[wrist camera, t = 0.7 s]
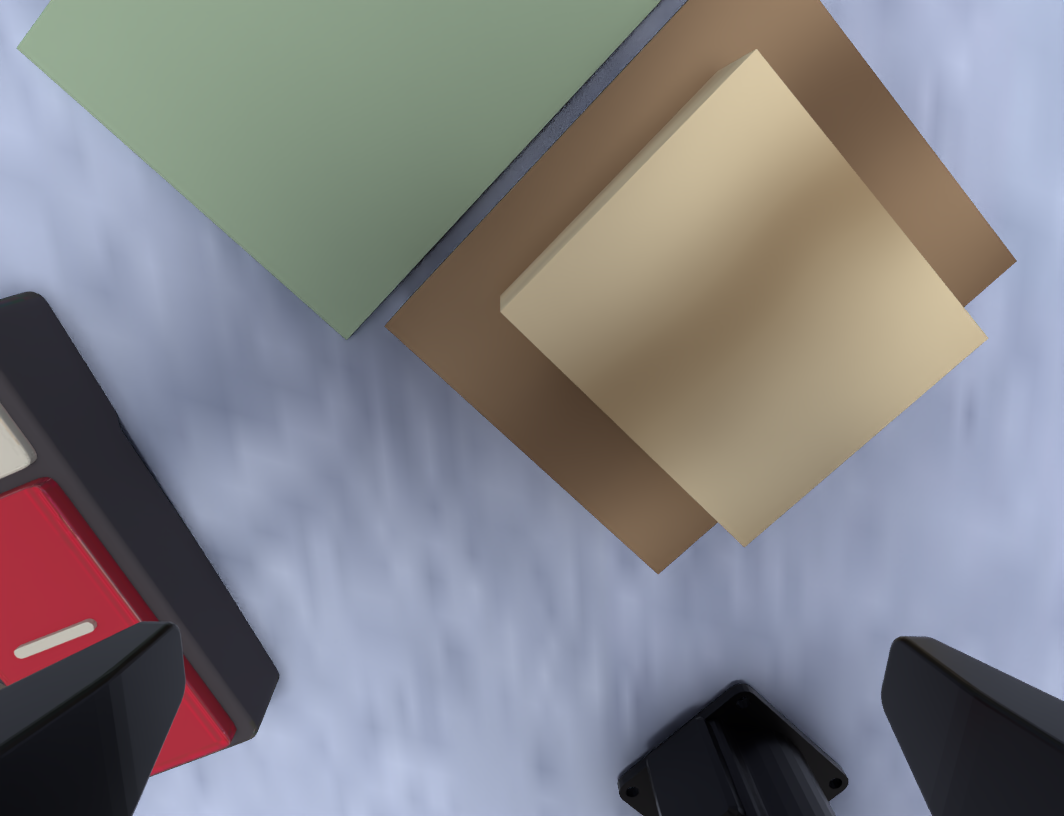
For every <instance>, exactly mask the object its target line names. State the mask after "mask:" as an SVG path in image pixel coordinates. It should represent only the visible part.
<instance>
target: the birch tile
mask: <svg viewBox="0 0 1064 816" xmlns="http://www.w3.org/2000/svg"><path fill="white" fill-rule="evenodd" d="M500 312H501V313H502V314H503V315H504V316H505V317H506V318H507V319H508V320H509V321H510V322H511V323H512V324H513V325H514V326H515V327H516V328H517V329H518V330H519V331H520V332H522V333H523V334H524V335H525V336H526V337H527V338H528V339H529V340H530V341H531V342H532V343H533V344H534V345H535V346H536V347H537V348H538V349H539V350H540V351H541V352H542V353H543V354H544V355H545V356H546V357H547V358H548V359H550V360H551V361H552V362H553V363H554V364H555V365H556V366H557V367H558V368H559V369H560V370H561V371H562V372H563V373H564V374H565V375H566V376H567V377H568V378H569V379H570V380H571V381H572V382H573V383H574V384H575V385H576V386H577V387H579V388H580V389H581V390H582V391H583V392H584V393H585V394H586V395H587V396H588V397H589V398H590V399H591V400H592V401H593V402H594V403H595V404H596V405H597V406H598V407H599V408H600V409H601V410H602V411H603V412H604V413H605V414H607V415H608V416H609V417H610V418H611V419H612V420H613V421H614V422H615V423H616V424H617V425H618V426H619V427H620V428H621V429H622V430H623V431H624V432H625V433H626V434H627V435H628V436H629V437H630V438H631V439H632V440H633V441H634V442H636V443H637V444H638V445H639V446H640V447H641V448H642V449H643V450H644V451H645V452H646V453H647V454H648V455H649V456H650V457H651V458H652V459H653V460H654V461H655V462H656V463H657V464H658V465H659V466H660V467H661V468H662V469H664V470H665V471H666V472H667V473H668V474H669V475H670V476H671V477H672V478H673V479H674V480H675V481H676V482H677V483H678V484H679V485H680V486H681V487H682V488H683V489H684V490H685V491H686V492H687V493H688V494H689V495H690V496H691V497H693V498H694V499H695V500H696V501H697V502H698V503H699V504H700V505H701V506H702V507H703V508H704V509H705V510H706V511H707V512H708V513H709V514H710V515H711V516H712V517H713V518H714V519H715V520H716V521H717V522H718V523H719V524H721V525H722V526H723V527H724V528H725V529H726V530H727V531H728V532H729V533H730V534H731V535H732V536H733V537H734V538H735V539H736V540H737V541H738V542H739V543H740V544H741V545H742V546H743V547H745V546H747V545H748V544H749V543H750V542H751V541H752V540H754V539H755V538H756V537H757V536H758V535H759V534H761V533H762V532H763V531H764V530H765V529H766V528H768V527H769V526H770V525H771V524H772V523H773V522H775V521H776V520H777V519H778V518H779V517H780V516H782V515H783V514H784V513H785V512H786V511H787V510H789V509H790V508H791V507H792V506H793V505H794V504H796V503H797V502H798V501H799V500H800V499H801V498H803V497H804V496H805V495H806V494H807V493H808V492H810V491H811V490H812V489H813V488H814V487H815V486H817V485H818V484H819V483H820V482H821V481H822V480H824V479H825V478H826V477H827V476H828V475H829V474H831V473H832V472H833V471H834V470H835V469H836V468H838V467H839V466H840V465H841V464H842V463H843V462H845V461H846V460H847V459H848V458H849V457H850V456H852V455H853V454H854V453H855V452H856V451H857V450H859V449H860V448H861V447H862V446H863V445H864V444H866V443H867V442H868V441H869V440H870V439H871V438H873V437H874V436H875V435H876V434H877V433H878V432H880V431H881V430H882V429H883V428H884V427H885V426H887V425H888V424H889V423H890V422H891V421H892V420H894V419H895V418H896V417H897V416H898V415H899V414H901V413H902V412H903V411H904V410H905V409H906V408H908V407H909V406H910V405H911V404H912V403H913V402H915V401H916V400H917V399H918V398H919V397H920V396H922V395H923V394H924V393H925V392H926V391H927V390H929V389H930V388H931V387H932V386H933V385H934V384H936V383H937V382H938V381H939V380H940V379H941V378H943V377H944V376H945V375H946V374H947V373H948V372H950V371H951V370H952V369H953V368H954V367H955V366H957V365H958V364H959V363H960V362H961V361H962V360H964V359H965V358H966V357H967V356H968V355H969V354H971V353H972V352H973V351H974V350H975V349H976V348H978V347H979V346H980V345H981V344H982V343H983V342H985V341H986V340H987V339H988V337H987V336H986V335H985V333H984V332H983V331H982V330H981V328H980V327H979V326H978V325H977V323H976V322H975V321H974V320H973V318H972V317H971V316H970V315H969V313H968V312H967V311H966V310H965V308H964V307H963V306H962V305H961V303H960V302H959V301H958V300H957V298H956V297H955V296H954V295H953V293H952V292H951V291H950V290H949V288H948V287H947V286H946V285H945V283H944V282H943V281H942V280H941V278H940V277H939V276H938V275H937V273H936V272H935V271H934V270H933V268H932V267H931V266H930V265H929V263H928V262H927V261H926V260H925V258H924V257H923V256H922V255H921V253H920V252H919V251H918V250H917V248H916V247H915V246H914V245H913V243H912V242H911V241H910V240H909V238H908V237H907V236H906V235H905V233H904V232H903V231H902V230H901V228H900V227H899V226H898V225H897V224H896V222H895V221H894V220H893V219H892V217H891V216H890V215H889V214H888V212H887V211H886V210H885V209H884V207H883V206H882V205H881V204H880V202H879V201H878V200H877V199H876V197H875V196H874V195H873V194H872V192H871V191H870V190H869V189H868V187H867V186H866V185H865V184H864V182H863V181H862V180H861V179H860V177H859V176H858V175H857V174H856V172H855V171H854V170H853V169H852V167H851V166H850V165H849V164H848V162H847V161H846V160H845V159H844V157H843V156H842V155H841V154H840V152H839V151H838V150H837V149H836V147H835V146H834V145H833V144H832V142H831V141H830V140H829V139H828V137H827V136H826V135H825V134H824V132H823V131H822V130H821V129H820V127H819V126H818V125H817V124H816V122H815V121H814V120H813V119H812V117H811V116H810V115H809V114H808V112H807V111H806V110H805V109H804V107H803V106H802V105H801V104H800V102H799V101H798V100H797V99H796V97H795V96H794V95H793V94H792V92H791V91H790V90H789V89H788V87H787V86H786V85H785V84H784V82H783V81H782V80H781V79H780V77H779V76H778V75H777V74H776V72H775V71H774V70H773V69H772V67H771V66H770V65H769V64H768V62H767V61H766V60H765V59H764V57H763V56H762V55H761V54H760V52H759V51H758V50H757V49H755V50H753V51H752V52H750V53H748V54H746V55H745V56H743V57H741V58H739V59H738V60H736V61H734V62H732V63H731V64H729V65H727V66H725V67H724V68H722V69H720V70H718V71H717V72H716V73H715V74H714V75H713V76H712V77H711V78H710V79H709V80H708V81H707V83H706V84H705V85H704V86H703V87H702V88H701V89H700V90H699V91H698V92H697V93H696V94H695V95H694V96H693V97H692V98H691V99H690V100H689V101H688V102H687V103H686V104H685V105H684V106H683V107H682V108H681V109H680V110H679V111H678V113H677V114H676V115H675V116H674V117H673V118H672V119H671V120H670V121H669V122H668V123H667V124H666V125H665V126H664V127H663V128H662V129H661V130H660V131H659V132H658V133H657V134H656V135H655V136H654V137H653V138H652V139H651V140H650V141H649V142H648V144H647V145H646V146H645V147H644V148H643V149H642V150H641V151H640V152H639V153H638V154H637V155H636V156H635V157H634V158H633V159H632V160H631V161H630V162H629V163H628V164H627V165H626V166H625V167H624V168H623V169H622V170H621V171H620V172H619V173H618V175H617V176H616V177H615V178H614V179H613V180H612V181H611V182H610V183H609V184H608V185H607V186H606V187H605V188H604V189H603V190H602V191H601V192H600V193H599V194H598V195H597V196H596V197H595V198H594V199H593V200H592V201H591V202H590V203H589V204H588V206H587V207H586V208H585V209H584V210H583V211H582V212H581V213H580V214H579V215H578V216H577V217H576V218H575V219H574V220H573V221H572V222H571V223H570V224H569V225H568V226H567V227H566V228H565V229H564V230H563V231H562V232H561V233H560V234H559V235H558V237H557V238H556V239H555V240H554V241H553V242H552V243H551V244H550V245H549V246H548V247H547V248H546V249H545V250H544V251H543V252H542V253H541V254H540V255H539V256H538V257H537V258H536V259H535V260H534V261H533V262H532V263H531V264H530V265H529V267H528V268H527V269H526V270H525V271H524V272H523V273H522V274H521V275H520V276H519V277H518V278H517V279H516V280H515V281H514V282H513V283H512V284H511V285H510V286H509V287H508V288H507V289H506V290H505V291H504V292H503V293H502V294H501V295H500Z"/></svg>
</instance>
